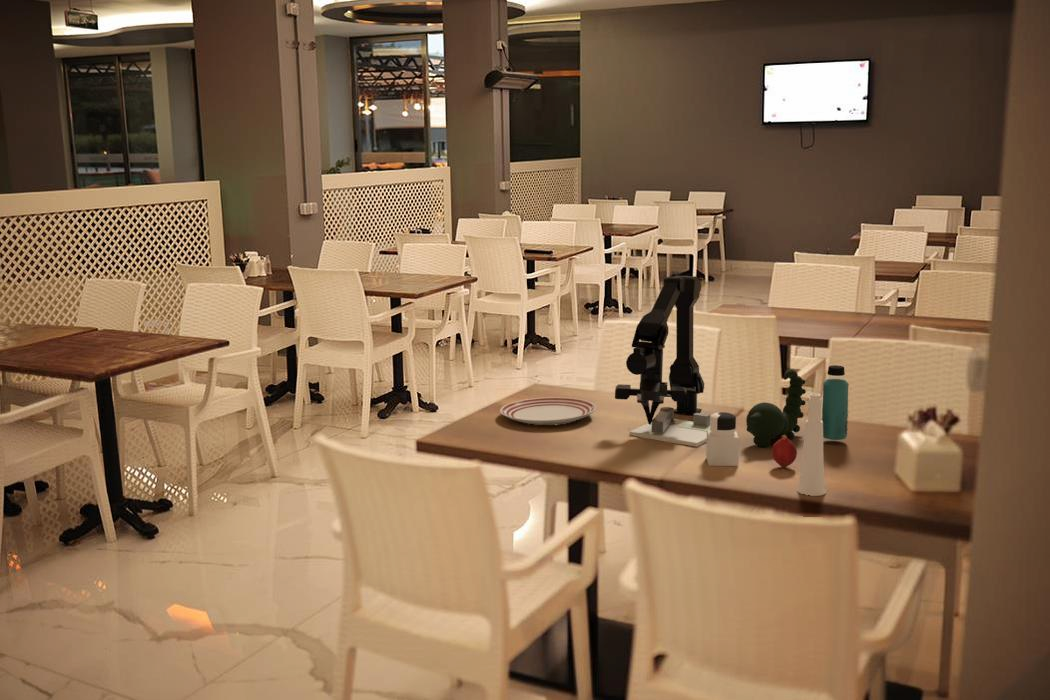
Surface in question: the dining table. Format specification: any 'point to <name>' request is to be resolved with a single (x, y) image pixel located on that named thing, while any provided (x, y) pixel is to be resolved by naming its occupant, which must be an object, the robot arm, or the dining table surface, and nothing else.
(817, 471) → the cosmetic bottle
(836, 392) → the beverage bottle
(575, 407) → the dinner plate
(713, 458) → the medicine bottle
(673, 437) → the door board
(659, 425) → the bar
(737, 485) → the dining table surface
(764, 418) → the toy figurine
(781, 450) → the onion
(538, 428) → the dining table surface
